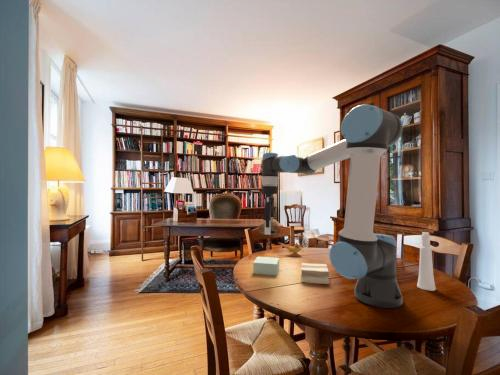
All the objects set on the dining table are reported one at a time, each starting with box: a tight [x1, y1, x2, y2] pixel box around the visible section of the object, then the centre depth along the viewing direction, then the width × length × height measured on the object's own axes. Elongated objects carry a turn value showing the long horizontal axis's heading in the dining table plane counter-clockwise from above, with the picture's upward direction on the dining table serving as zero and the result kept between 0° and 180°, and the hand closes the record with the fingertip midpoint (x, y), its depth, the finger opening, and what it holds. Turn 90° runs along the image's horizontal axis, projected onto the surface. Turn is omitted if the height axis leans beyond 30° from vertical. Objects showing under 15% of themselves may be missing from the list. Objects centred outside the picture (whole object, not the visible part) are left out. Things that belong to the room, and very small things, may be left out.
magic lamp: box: [279, 237, 309, 257], centre depth 148 cm, size 7×18×11 cm, turn 71°
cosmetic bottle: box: [416, 231, 437, 292], centre depth 97 cm, size 6×6×22 cm
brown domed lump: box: [258, 220, 281, 236], centre depth 116 cm, size 10×10×8 cm
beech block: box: [301, 262, 330, 285], centre depth 107 cm, size 11×11×5 cm
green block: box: [252, 256, 280, 276], centre depth 117 cm, size 11×11×5 cm
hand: (269, 232), depth 116 cm, fingers closed on brown domed lump, 10 cm apart
